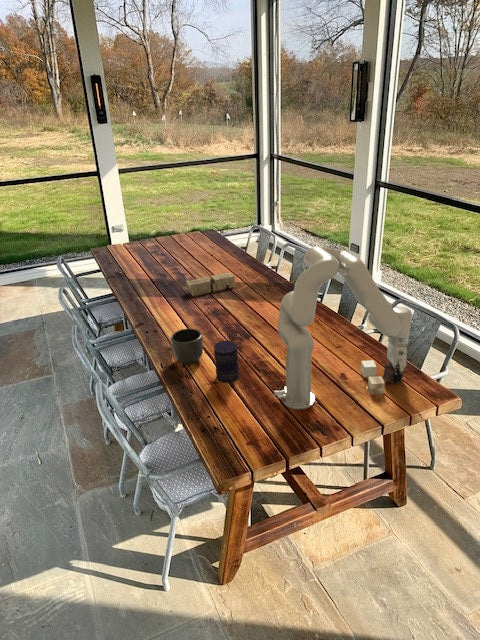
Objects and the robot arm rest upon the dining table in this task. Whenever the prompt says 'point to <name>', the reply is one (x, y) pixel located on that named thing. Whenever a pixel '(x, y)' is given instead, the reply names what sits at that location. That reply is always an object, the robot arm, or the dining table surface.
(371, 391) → the birch block
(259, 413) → the dining table surface
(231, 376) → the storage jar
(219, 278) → the tan double block
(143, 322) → the dining table surface
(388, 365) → the box
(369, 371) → the grey block
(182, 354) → the planter
